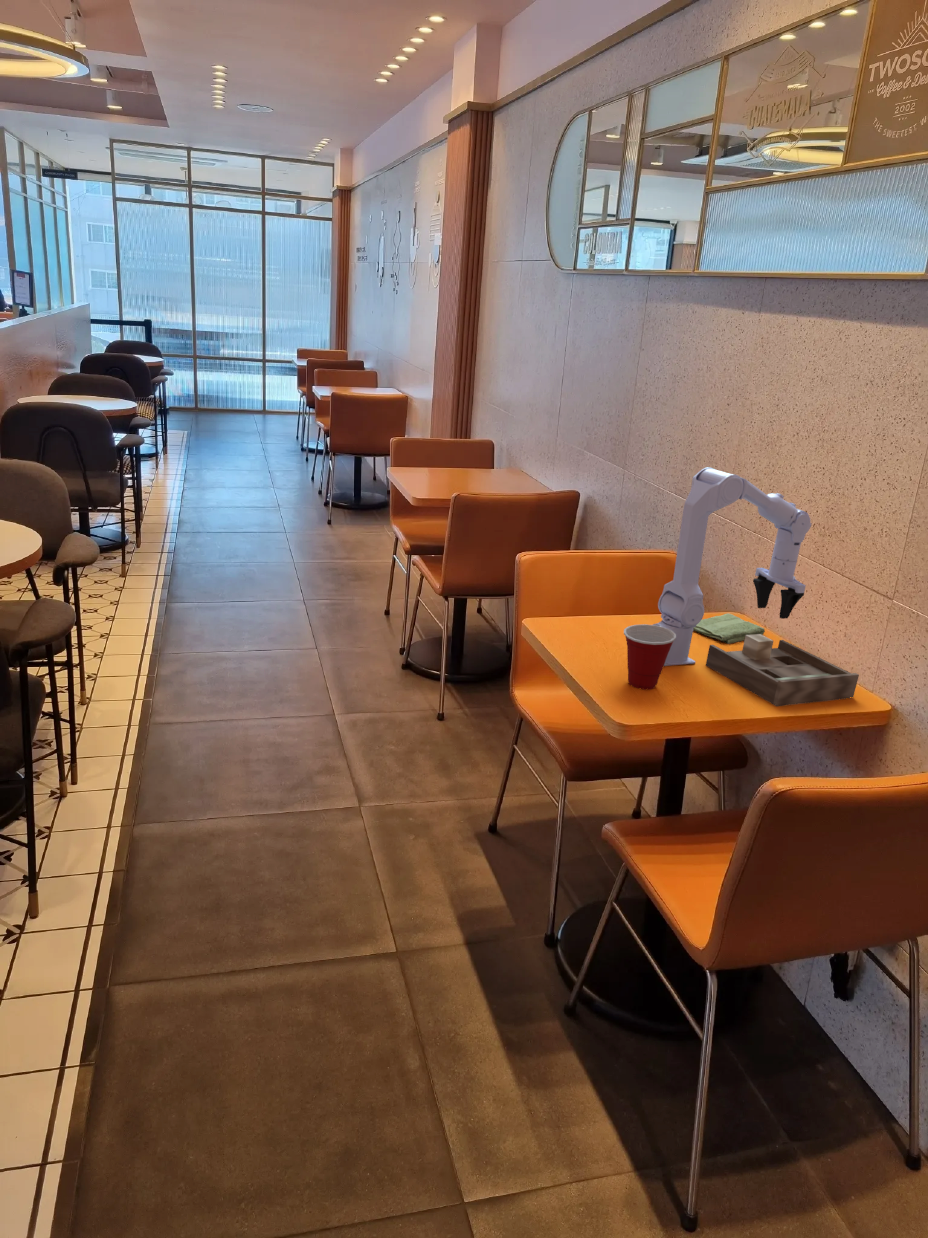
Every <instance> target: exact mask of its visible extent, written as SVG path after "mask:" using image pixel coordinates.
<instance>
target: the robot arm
mask: <svg viewBox="0 0 928 1238" xmlns="http://www.w3.org/2000/svg"><path fill="white" fill-rule="evenodd" d="M690 487H691V488H690V491H689V493H688V495H687V497H686V499H685V501H684V504H683V509H682V516H681V523H680V531H679V539H678V543H677V552H676V557H675V564H674V573H673V579H672V580H671V581H669V582H667V583H665V584H664V585H663V590H662V593H661V595H660V597H659V599H658V602H657V608H658V610H659V612H660V613H661V616H660V618H661V620H660V621H659V622H657V623H653V624H652V625H656V626H660V627H665V628H667V629H669V630H672V631H673V632H674V633H675V634H676V639H675V640H674V641H673V643H672V646H671V648H670V651H669V652H668V655H667V658H666V661H665V664H664V666H663V667H667V666H678V665H680V666H681V665H690V664H691V665H692V664H693V665H694V664H696V660H695V659H692V658H690V657H689V654H690V648H691V643H692V639H693V633H694V631H693V628H694V627H696V625H697V624H698V623H699V622H700V621H701V620H702V619H704V616H705V605H704V602H703V600H704V594H703V592H702V590H701V588H700V585H699V579H700V573H701V568H702V561H703V555H704V554H703V553H704V546H705V542H706V541H705V539H706V535H707V528H708V521H709V516H710V515H712V514H713V513H714V512H717V511H719V510H721V509H724V508H726V507H727V506H730V505H732V504H734V503H735V502H737V501H738V500H744V501H747V502H749V503H750V504H752V505H754V506H756V507H757V513H758V514H759V515H760V516H761V517H762V518H764V519H766V520H767V521H769V522H771V523H772V524H774V528H776V529H777V532H776V537H775V541H774V546H773V550H772V554H771V560H770V563H769V569H767V568H764V567H756V570H755V574H754V575H755V576H756V577H757V578H755V577H754V578H753V580H752V581H753V585H754V588H755V591H756V602H757V603H756V604H757V605H756V607H757V608H758V609H765V608H767V606H768V603H769V599H770V595H771V592H772V590H773V588H774V586H775V584H777V585H780V586H782V587H784V588H786V589H780V599H781V600H780V601H781V602H780V609H779V619H788V618H789V617H790V614H791V613H792V611H793V609H794V608H795V606H796V605H797V603H798V602H799V601H800V600H801V598H802V597H804V595H805V590H806V584H803V583H802V582H800V581H799V580H797V578H796V576H794V575H795V571H796V568H797V567H796V566H797V562H798V559H799V555H800V550H801V545H802V543H803V541H805V538H806V534H807V533H808V532H809V531H810V530H811V527H812V523H811V516H810V514H809V513H808V512H807V511H804V510H802V509H799V508H797V506H796V505H797V504H795V502H794V503H793V502H788V501H787V500H785V499H784V497H785V496H784V495H783V494H781V493H778V492H776V493H768V494H766V493H765V492H764V491H762V490H761V489H760V488H758V487H757V485H754V484H753V483H751V482H750V481H749V480H748V479H746V478H744V477H741V476H740V475H738V474H734V473H728V472H725V471H722V470H719V469H718V470H717V469H715V468H713V467H710V466H708V467H704V468H702V469H700V470H699V471H698V472H697V473H696V474H694V476H692V480H691V485H690Z"/></svg>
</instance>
